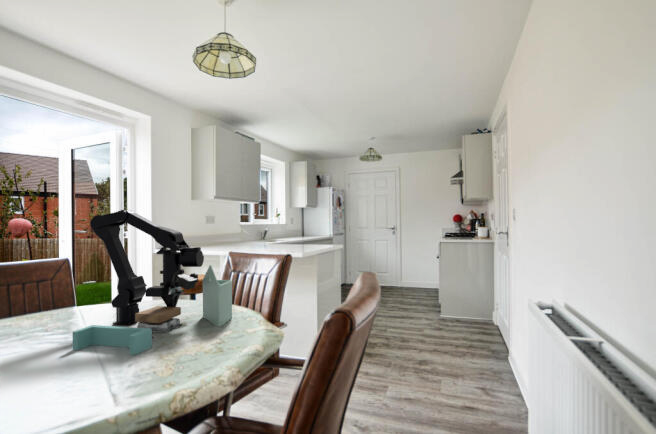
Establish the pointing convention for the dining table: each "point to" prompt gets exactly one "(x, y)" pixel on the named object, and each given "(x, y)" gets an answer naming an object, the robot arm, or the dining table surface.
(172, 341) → the dining table surface
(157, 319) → the slab
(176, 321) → the roller rear
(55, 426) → the dining table surface
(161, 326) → the roller front
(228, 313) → the planter
